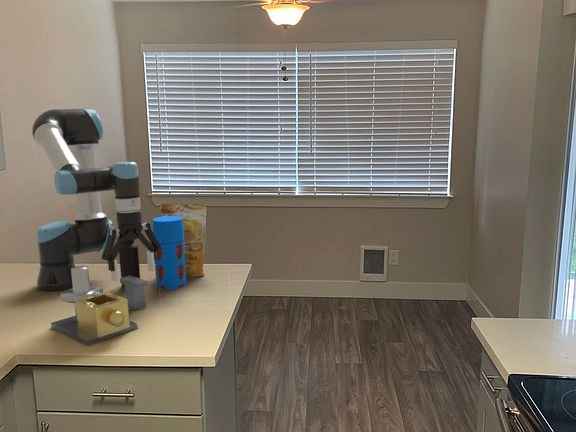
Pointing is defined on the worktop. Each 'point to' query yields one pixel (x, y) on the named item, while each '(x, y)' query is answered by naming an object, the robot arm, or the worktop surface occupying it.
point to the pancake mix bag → (191, 233)
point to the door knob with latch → (93, 311)
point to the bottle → (129, 260)
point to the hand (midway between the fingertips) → (133, 275)
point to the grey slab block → (134, 292)
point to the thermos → (170, 252)
